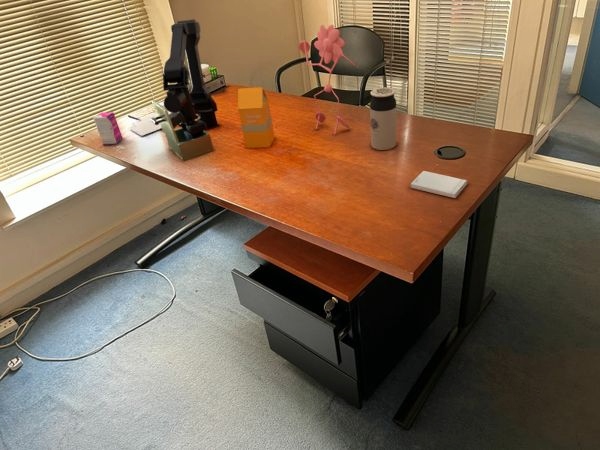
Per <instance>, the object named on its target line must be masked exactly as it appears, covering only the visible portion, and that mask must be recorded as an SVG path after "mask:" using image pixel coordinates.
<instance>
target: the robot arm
mask: <svg viewBox="0 0 600 450" xmlns="http://www.w3.org/2000/svg"><path fill="white" fill-rule="evenodd" d="M170 29H171V42H170V51H169V52H170V54H169V58H167V60H166V61H165V62H164V66H163V70H162V83H163V84H162V85H163V91H166V96H165V98H164V99H163V107H164V108H166V109H167V110H168V111H169V112H171V114H169V117H170V119H171V122H172V125H173V128H174V129H176V127H180V128H183V129H184V131H186V132H187V133H189V134H191V135H192V137H193V139H194V138H197V137H200V136H202V134H203V131H209V130H210V129H214V128H217V127H220V124H219V123H218V120H217V115H216V112H218V105H217V102H216V101H215V99H214V98H213V97H212V93H211V91H210V90H209V89H208V87H206V85H205V80H204V74H203V68H202V63H201V62H202V61H201V57H200V52H199V47H198V45H199V43H200V39H201V24H200V23H199V21H197V20H196V19H194V18H192V19H184V20H178V21H177V22H176V23H173V24H171V26H170ZM185 60H186V61H187V65H186V62H185ZM190 82H191V87H192V88H191V91H190V89H189V85H190Z"/></svg>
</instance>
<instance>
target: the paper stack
mask: <svg viewBox="0 0 600 450" xmlns="http://www.w3.org/2000/svg"><path fill="white" fill-rule="evenodd" d="M164 108H165V107H164ZM165 109H166V108H165ZM166 110H167V109H166ZM167 111H168V110H167ZM168 114H171V112H169V111H168ZM156 117H158V116H157V114H156V111H155V112H151V113H149V114H147V115H143V116H140V117H138V118H137V119H138V120H139V121H136V122H132V124H133V125H132V126H130V127H128V129H129V130H130V131H132V132H133V133H135V134H138V135H139V136H141V137H142V136H144V135H147V134H150V133H152V132H155V131H158V130H160V129H161V130H162V127H161V124H160V123H159V125H155V124H154V123H153V122H152V121H151V118H156ZM157 121H159V119H158V120H157Z"/></svg>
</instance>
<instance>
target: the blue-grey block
mask: <svg viewBox="0 0 600 450" xmlns="http://www.w3.org/2000/svg"><path fill="white" fill-rule="evenodd" d="M184 135H185V138H186V141H188V140H191V139H193V137H192V135H191V134H189V133H187V132H186V131H185V132H184Z"/></svg>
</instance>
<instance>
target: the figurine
mask: <svg viewBox="0 0 600 450" xmlns="http://www.w3.org/2000/svg"><path fill="white" fill-rule="evenodd" d="M340 35H341V32H340V30H339V29H337V28H335V26H334V25H333V24H330V25H329V26H327V28H326V26H325V25H324V24H321V25H320V26H319V31H317V32H316V38H317V40H315V41H314V43H313V45H314V48H316V49H317V50H318V51H319V52H318V55H319V57H321V58H320V61H319V63H309V58H308V52H309V51H310V49H311V45H310V43H309V42H308V41H307V40H305V39H304V40H302V41H300V43H299V45H298V48H299V50H300V51H301V52H302V53H303V54H305V59H306V60H305V61H306V64H307V66H318V67H321V68H323V69H324V70H325V71H327V72H329V74H328V75H329V76H328V81H327V84H326V85H324V88H323V90H321V91H319V92H317V93H315V94H314V95H313V98H314V101H315V104H316V107H317V110H318V112H316V113H315V119H316V121H317V122H316V125H315V130H318V128H319V123H321V124H323V123H324V122H325V121H326V119H327V116H326V114H325V113H324V112H322V111H321V110H320V108H319V104H318V101H317V98H316V96H318V95H320V94H321V93H323V92H326V93H331V92H332V93H333V95H334V96H335V97H336V100H337V111H338V112H337V113H338V115H331V116H328V118H331V117H332V118H333V117H335V119H336V125H335V128H334V133H333V135H336V134H337V131H338V126H339V123H340V124H341V125H342V126H344V127H345V128H347V129H348V130H350V128H351V127H350V126H349V124H348V123H347V122H346V121H345V120H344V119H343V118H345V115H344V116H343V115H340V99H339V97H338V96H337V94H336V93H335V91H334V90H333V85H331V84H330V82H331V76H332V73H333V71H334V68H335V67H336V65H337V64H338V63H339V60H340V58H342V57H344V58H345V59H346V60H347V61H348V62H350V63H351V64H352V65H353V66H354V67H356V68H359V66H358V65H357V64H355V63H354V62H353V61H352V60H351V59H350V58H348V57H347V56H346V55H344V52H343V49H342V48H343V47H344V46H345V45H346V42H345V41H344V39H343V38H341V37H340ZM323 61H324V63H325V64H326V65H327V64H329V63H331V61H332V62H333V63H334V64H333V65H332V66H331V68H330V67H327V66H326V65H323V64H322V63H323ZM346 118H347V119H352V120H354V121H356V122H358V120H357V119H355V118H353V117H350V116H346ZM348 138H350V136H347V137H346V139H348Z"/></svg>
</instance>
